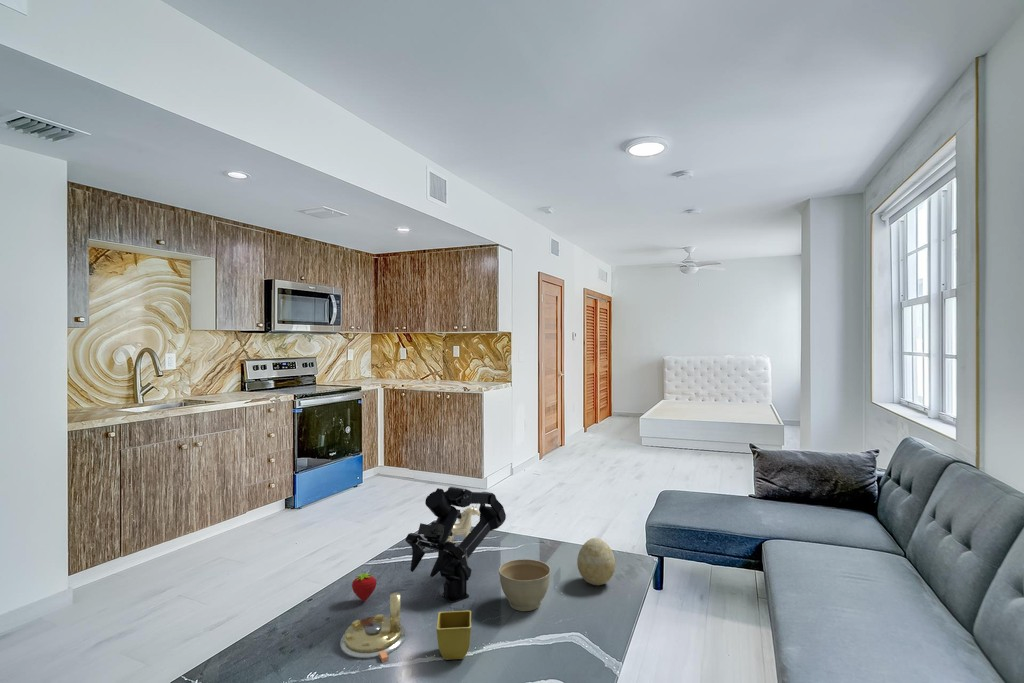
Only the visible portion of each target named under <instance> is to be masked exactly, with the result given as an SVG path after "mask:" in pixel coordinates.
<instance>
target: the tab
mask: <svg viewBox="0 0 1024 683" xmlns="http://www.w3.org/2000/svg"><path fill="white" fill-rule="evenodd" d="M378 658H379V659H380V661H381V663H384V662H388V661H389V655H388V654H387V653H386V651H382V652H379V657H378Z"/></svg>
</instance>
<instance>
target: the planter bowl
mask: <svg viewBox="0 0 1024 683" xmlns="http://www.w3.org/2000/svg"><path fill="white" fill-rule="evenodd" d="M551 570H552V569H551V567H550V565H549V564H547V563H545V562H543V561H540V560H538V559H537V560H536V559H532V558H531V559H529V558H522V559H521V558H519V559H512V560H509V561H506V562H504V563H502V564H501V565H500V567H499V569H498V574H499V581H500V587H501V590H502V592H503V594H504V596H505V598H506V600H508V603H509V606H510V607H511V608H512V609H514V610H516V611H520V612H530V611H533V610H536V609H538V608H539V607H540V606H541V602H542V601H543V599H544V597H545V596H546V594H547V592H548V589H549V586H550V581H551V580H550V579H551Z"/></svg>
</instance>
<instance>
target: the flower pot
mask: <svg viewBox="0 0 1024 683" xmlns="http://www.w3.org/2000/svg"><path fill="white" fill-rule="evenodd" d="M471 633H472V610H454V611H453V610H452V611H451V610H450V611H439V612H438V613H437V622H436V638H437V646H438V647H437V648H438V651H439V653H440V654H441V656H442V659H444V660H445V661H446V660H464V659H465V657H466V656H467V655H468V653H469V649H470V644H471V635H472V634H471Z"/></svg>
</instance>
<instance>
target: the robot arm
mask: <svg viewBox="0 0 1024 683" xmlns="http://www.w3.org/2000/svg"><path fill="white" fill-rule="evenodd" d="M424 501H425V502H424V503H425V506H426V507H427V508H428V509H429V511H430V512H431V513H432V514H433V515H434V516H435V517H436V520H435V521H432V522H431V523H430V524H426V523H421V522H420V523H419V526H418V527H419V528H418V530H417V533H413V532H410V533H408V534H407V535H406V537H405V539H404V541H405V542H406V543H407V544H408V545H409V546H410V547H411V549H412V550H411V551H412V553H411V555H412V557H411V562H410V572H412V573H413V572H414V571H416V569H417V568H418V565H419V564H420V562H421V561H422V559H423V558H424V557H425V554H426V552H425V551H424V549H425V548H426V549H427V548H428V549H432V550H436V551H438V555H437V559H436V560H435V562H434V565H433V567H432V569H431V572H430V574H429V576H430V578H434V577H435V576H436V575H437V574H440V577H441V578H442V577H443V578H444V582H443V592H442V596H443V595H444V596H445V597H444V596H443V597H444V598H446V600H448V601H449V602H450V603H455V602H458V601H461V600H464V599H467V598H469V597H470V594H468V593H467V587H468V586H467V581H469V579H470V578H471V576H472V568H470V567H469V558H470V556H471V555H472V554H473V553H474V552H475V551H476V549H477V548H478V547H479V545H481V543H482V541H483V540H485V538H486V537H487V535H488V534H489V533H490V532H491V531H494V530H497V529H499V528H500V527H501V526H502V525H503V524H504V523H505V521H506V518H507V514H506V512H505V509H504V505H503V504H502V503H501V502H500V501H499V500H498V498H497V496H496V495H495V493H493V492H488V491H471V490H470V489H467V488H462V487H461V488H460V487H455V486H449V487H448V489H447V490H446V491H445V490H444V489H443V488H439V487H438V488H436V490H434V491H432V492H431V493H430V494H429V495H427V497H426V498H425V500H424ZM472 504H473V505H475V504H476V505H478V504H479V507H478V511H479V512H480V515H479V521H478V522H477V523H476V525H475V526H474V527H473V528H471V529H472V530H470V533H469V534H468V535H467V536H466V538H465V537H464V539H463V540H462V541H461V542H460V543H459V544H458V542H456V543H453V542H454V541H453V542H449V541H447V540H448V538H449V536H452V535H453V536H454V534H453V533H452V532H451V531H452V529H453V527H454V524H456V522H457V521H458V519H461V518H462V516H461V513H462V512H461V509H459V508H466V507H467V508H468V507H469V506H471V505H472ZM489 505H490V506H489ZM457 507H458V509H457ZM421 535H423V536H421Z"/></svg>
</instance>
